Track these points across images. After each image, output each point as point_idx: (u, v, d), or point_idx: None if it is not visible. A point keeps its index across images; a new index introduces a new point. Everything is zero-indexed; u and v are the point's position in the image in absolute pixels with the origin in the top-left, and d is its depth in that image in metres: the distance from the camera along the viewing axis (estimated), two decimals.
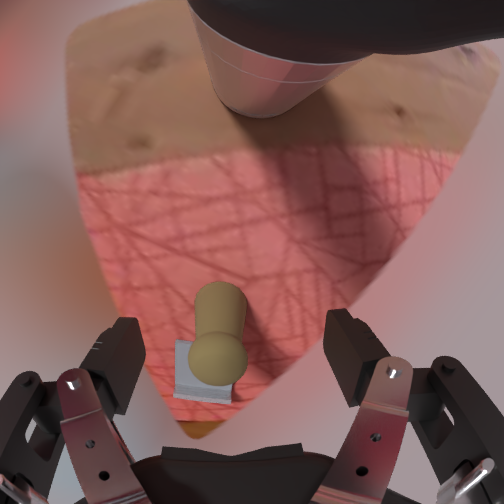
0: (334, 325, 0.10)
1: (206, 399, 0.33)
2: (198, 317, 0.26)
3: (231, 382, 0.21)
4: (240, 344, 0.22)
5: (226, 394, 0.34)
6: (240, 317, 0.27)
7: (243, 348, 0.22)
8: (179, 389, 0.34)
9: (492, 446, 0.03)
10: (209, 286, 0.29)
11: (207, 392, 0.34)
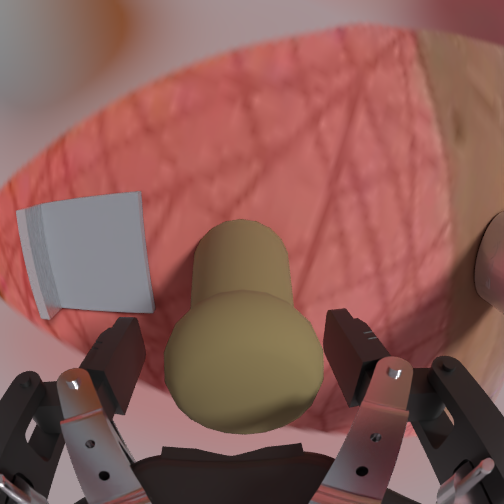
0: (334, 325, 0.10)
1: (33, 276, 0.14)
2: (263, 257, 0.12)
3: (208, 425, 0.07)
4: None
5: (54, 305, 0.16)
6: None
7: None
8: (33, 217, 0.14)
9: (492, 446, 0.03)
10: (282, 245, 0.16)
11: (45, 270, 0.15)
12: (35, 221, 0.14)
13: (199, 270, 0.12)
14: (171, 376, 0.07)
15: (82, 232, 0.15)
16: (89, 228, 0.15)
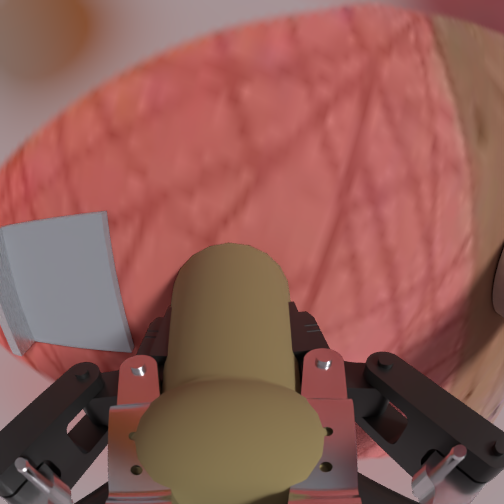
0: None
1: None
2: (258, 304, 0.09)
3: None
4: None
5: (25, 339, 0.12)
6: None
7: None
8: None
9: (458, 432, 0.04)
10: (282, 274, 0.13)
11: (11, 302, 0.12)
12: None
13: (174, 320, 0.09)
14: None
15: (45, 261, 0.12)
16: (52, 256, 0.12)
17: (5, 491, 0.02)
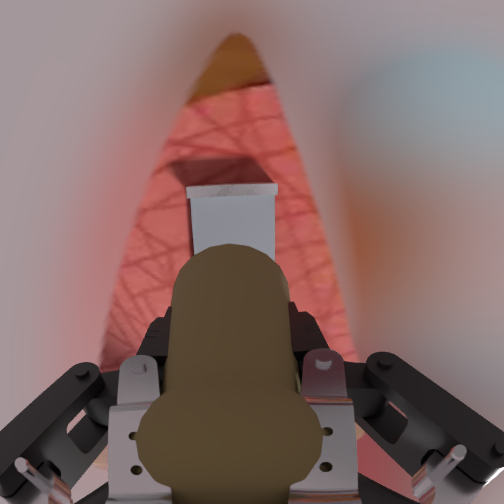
0: None
1: (225, 191, 0.23)
2: (258, 305, 0.09)
3: None
4: None
5: None
6: None
7: None
8: None
9: (457, 432, 0.04)
10: (282, 274, 0.13)
11: None
12: None
13: (174, 320, 0.09)
14: None
15: (251, 230, 0.27)
16: (254, 236, 0.27)
17: (5, 491, 0.02)
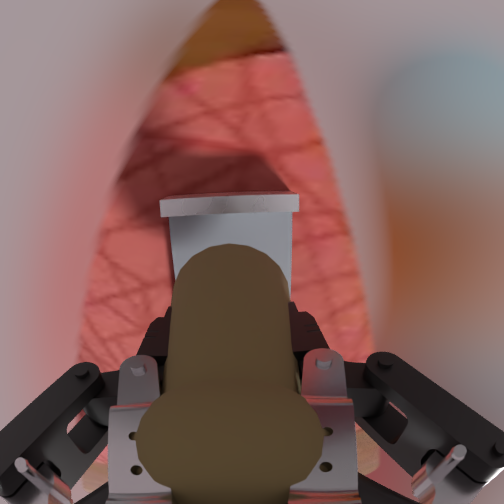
0: None
1: (218, 206, 0.15)
2: (258, 304, 0.09)
3: None
4: None
5: None
6: None
7: None
8: None
9: (457, 432, 0.04)
10: (282, 274, 0.13)
11: None
12: None
13: (174, 320, 0.09)
14: None
15: None
16: None
17: (5, 491, 0.02)
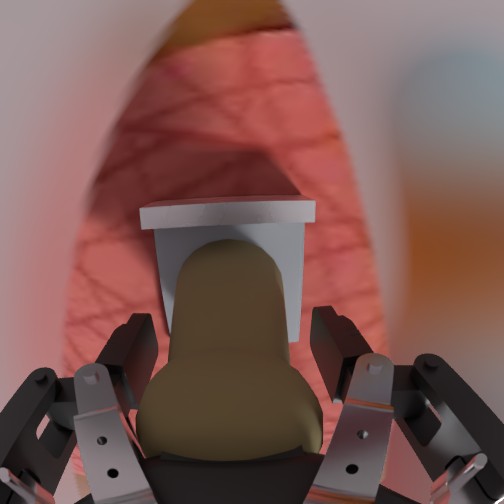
0: (319, 322, 0.10)
1: (212, 215, 0.12)
2: (251, 290, 0.10)
3: None
4: None
5: None
6: None
7: None
8: None
9: (483, 441, 0.03)
10: (275, 266, 0.14)
11: None
12: None
13: (178, 306, 0.11)
14: (144, 449, 0.05)
15: None
16: None
17: None
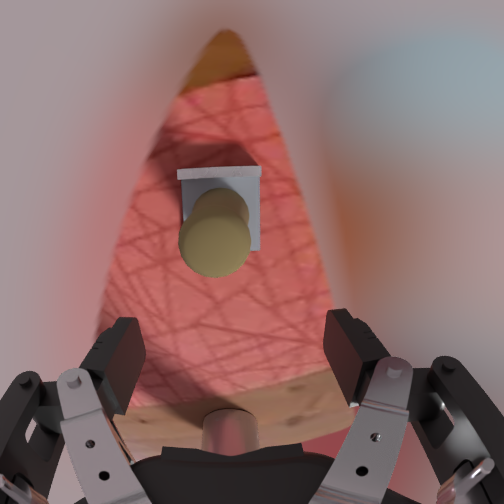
0: (334, 325, 0.10)
1: (212, 173, 0.25)
2: (228, 201, 0.23)
3: (197, 266, 0.18)
4: None
5: None
6: None
7: None
8: None
9: (492, 446, 0.03)
10: (244, 201, 0.27)
11: None
12: None
13: (195, 210, 0.24)
14: (182, 237, 0.18)
15: None
16: None
17: None
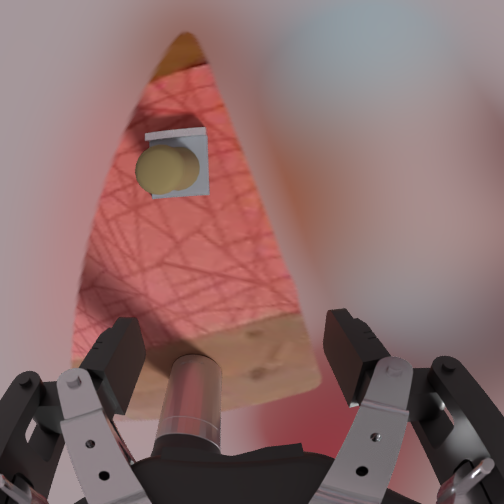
0: (334, 325, 0.10)
1: (169, 134, 0.31)
2: (177, 150, 0.30)
3: (145, 184, 0.25)
4: (179, 184, 0.27)
5: (152, 140, 0.32)
6: (183, 183, 0.31)
7: (176, 187, 0.26)
8: (200, 135, 0.33)
9: (492, 446, 0.03)
10: (194, 155, 0.34)
11: (171, 138, 0.32)
12: (198, 135, 0.33)
13: None
14: (137, 164, 0.24)
15: None
16: None
17: None
